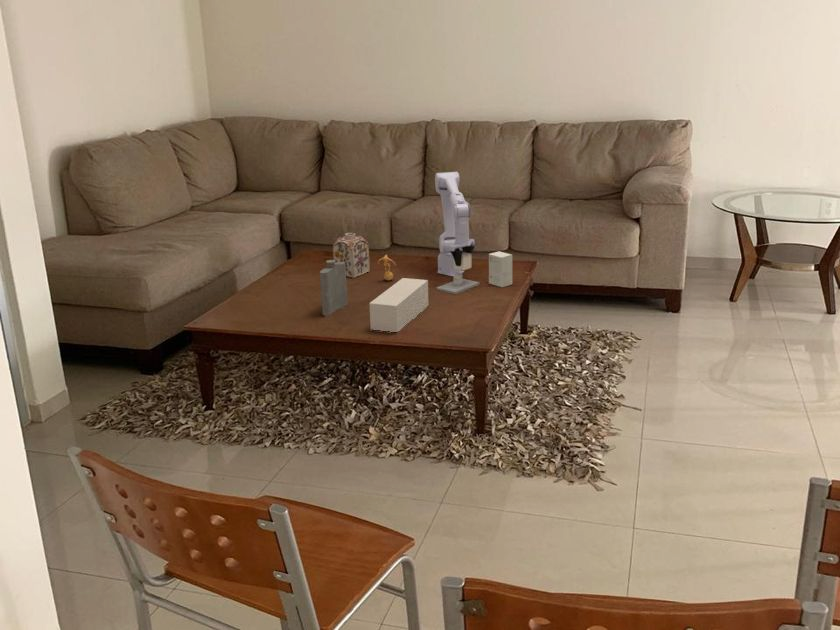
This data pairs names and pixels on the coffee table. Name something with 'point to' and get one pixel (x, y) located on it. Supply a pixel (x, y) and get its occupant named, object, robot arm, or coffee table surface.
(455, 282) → the post
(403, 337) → the coffee table surface
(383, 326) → the long white block
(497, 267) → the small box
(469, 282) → the base board
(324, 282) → the hip flask
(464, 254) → the beige cardboard cube
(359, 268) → the decorative jar
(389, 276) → the figurine
